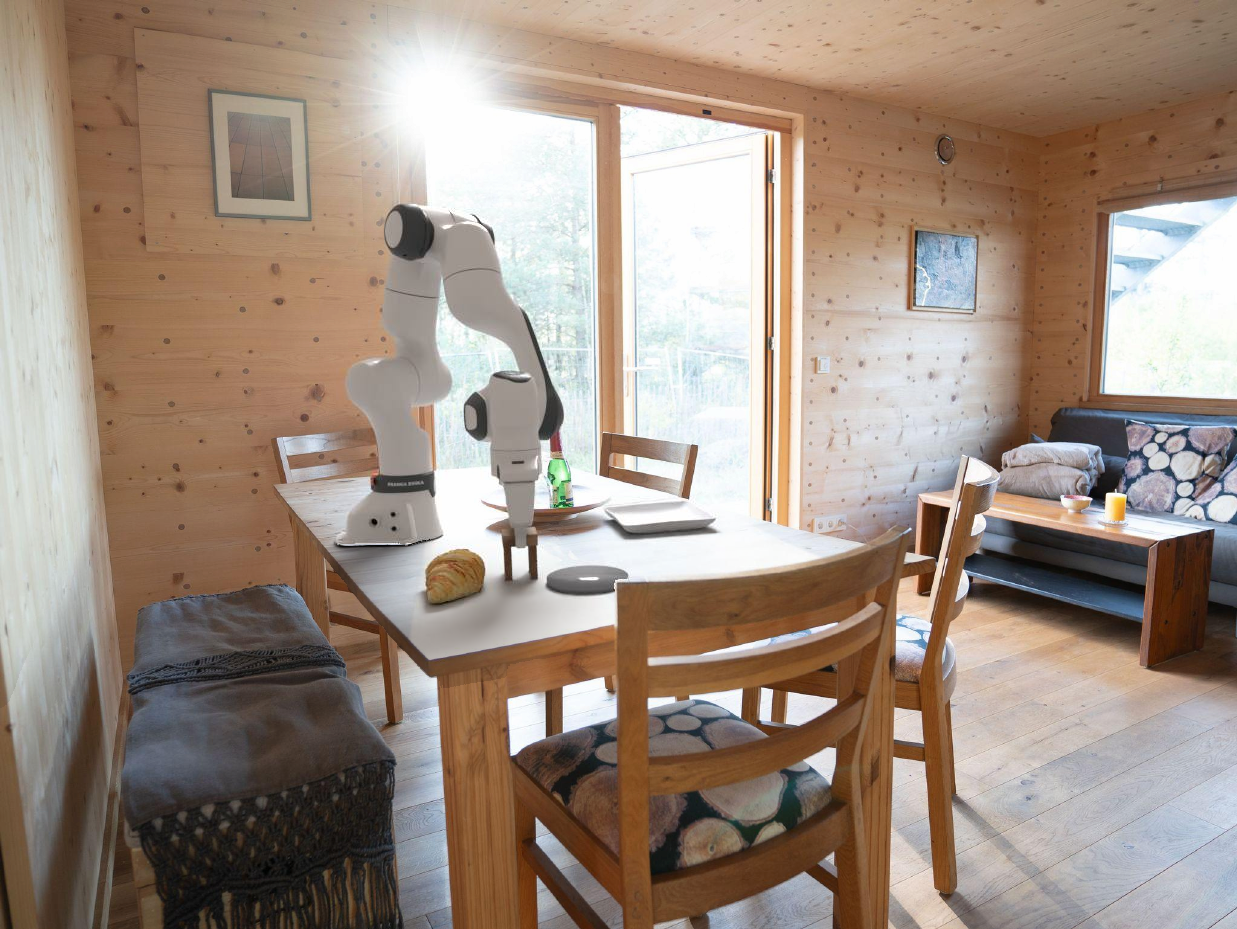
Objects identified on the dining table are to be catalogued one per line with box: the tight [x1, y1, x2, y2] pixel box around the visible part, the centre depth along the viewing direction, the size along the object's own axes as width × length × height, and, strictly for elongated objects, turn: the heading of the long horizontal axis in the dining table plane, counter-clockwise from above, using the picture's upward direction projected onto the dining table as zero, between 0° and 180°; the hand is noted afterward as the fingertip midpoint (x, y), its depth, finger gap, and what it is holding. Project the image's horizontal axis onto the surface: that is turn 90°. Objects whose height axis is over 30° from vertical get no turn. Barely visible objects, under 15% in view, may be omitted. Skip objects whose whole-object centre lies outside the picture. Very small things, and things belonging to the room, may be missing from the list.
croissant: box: [424, 548, 486, 604], centre depth 136 cm, size 21×10×8 cm, turn 172°
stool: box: [500, 526, 539, 582], centre depth 143 cm, size 6×6×8 cm
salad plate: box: [603, 500, 717, 535], centre depth 183 cm, size 21×21×3 cm
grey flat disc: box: [546, 564, 629, 595], centre depth 139 cm, size 14×14×1 cm
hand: (519, 541), depth 143 cm, fingers open, 7 cm apart
